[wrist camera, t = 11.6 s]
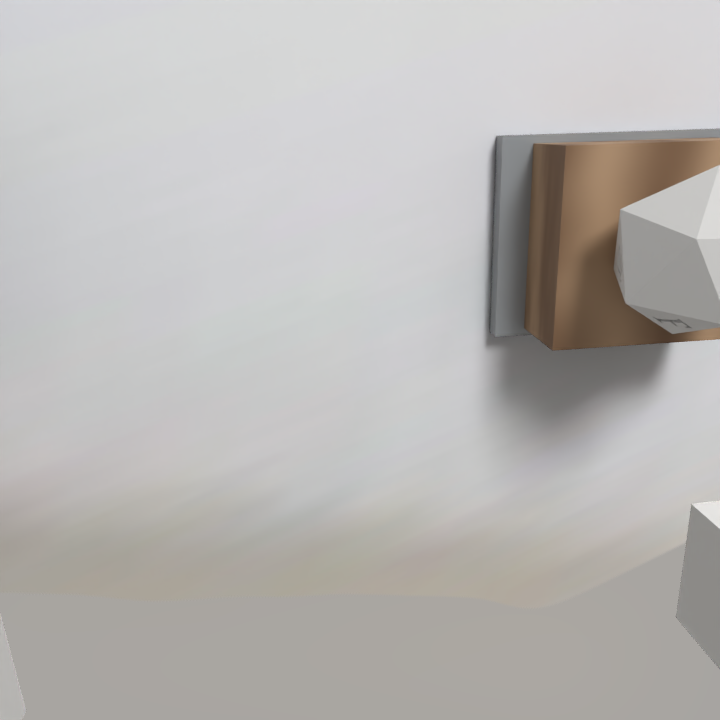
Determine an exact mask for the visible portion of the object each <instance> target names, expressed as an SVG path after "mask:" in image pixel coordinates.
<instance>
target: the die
mask: <svg viewBox="0 0 720 720" xmlns="http://www.w3.org/2000/svg"><path fill="white" fill-rule="evenodd" d="M614 272H615V275H616V278H617V280H618V283H619V286H620V289H621V292H622V295H623V298H624V301H625V303H626V304H627V305H629V306H630V307H632V308H633V309H635V310H636V311H638V312H639V313H641V314H642V315H644V316H645V317H647V318H649V319H650V320H652V321H653V322H655V323H656V324H658V325H659V326H661V327H662V328H664V329H665V330H667V331H668V332H670V333H671V334H676V333H684V332H691V331H698V330H705V329H712V328H719V327H720V165H718V166H716V167H714V168H711V169H709V170H707V171H705V172H702V173H700V174H698V175H696V176H693V177H691V178H689V179H687V180H685V181H682V182H680V183H678V184H676V185H673V186H671V187H669V188H667V189H664V190H662V191H660V192H658V193H655V194H653V195H651V196H649V197H646V198H644V199H642V200H640V201H637V202H635V203H633V204H631V205H628V206H626V207H624V208H622V209H620V215H619V224H618V233H617V242H616V251H615V260H614Z"/></svg>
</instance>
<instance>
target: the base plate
mask: <svg viewBox="0 0 720 720" xmlns="http://www.w3.org/2000/svg"><path fill="white" fill-rule="evenodd" d="M711 137H716V138H720V129H693V130H662V131H631V132H599V133H568V134H537V135H506V136H497V143H496V172H495V200H494V229H493V258H492V287H491V316H490V333H492V334H493V335H494V336H495V337H502V336H518V335H532V334H531V333H530V332H528V331H527V330H526V329H525V328H524V319H525V300H526V280H527V261H528V241H529V222H530V202H531V183H532V163H533V144H534V143H562V142H592V141H622V140H652V139H681V138H711Z"/></svg>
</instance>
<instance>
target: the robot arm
mask: <svg viewBox="0 0 720 720" xmlns="http://www.w3.org/2000/svg"><path fill="white" fill-rule="evenodd" d="M676 618H677V619H678V620H679V622H680V623H681V624H682V625H683V626H684V628H685V629H686V630H687V631H688V632H689V634H690V635H691V636H692V637H693V638H694V639H695V641H696V642H697V643H698V644H699V645H700V646H701V648H702V649H703V650H704V651H705V652H706V654H707V655H708V656H709V657H710V658H711V660H712V661H713V662H714V663H715V664H716V665H717V666H718V668H719V669H720V501H712V502H704V503H696V504H691V511H690V518H689V526H688V533H687V540H686V548H685V556H684V563H683V570H682V577H681V585H680V592H679V599H678V606H677V614H676ZM25 712H26V708H25V705H24V701H23V697H22V693H21V689H20V685H19V681H18V678H17V674H16V670H15V666H14V663H13V659H12V655H11V651H10V648H9V644H8V640H7V636H6V632H5V629H4V624H3V621H2V618H1V613H0V720H22V719H23V717H24V714H25Z"/></svg>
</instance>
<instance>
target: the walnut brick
mask: <svg viewBox="0 0 720 720" xmlns="http://www.w3.org/2000/svg"><path fill="white" fill-rule="evenodd" d="M718 165H720V138H716V137H711V138H681V139H652V140H622V141H592V142H562V143H534V144H533V163H532V183H531V202H530V222H529V241H528V261H527V280H526V300H525V319H524V328H525V329H526V330H527V331H528V332H530V333H531V334H532V335H533V336H535V337H536V338H537V339H539V340H540V341H541V342H542V343H544V344H545V345H546V346H547V347H549V348H550V349H551V350H567V349H582V348H597V347H611V346H626V345H641V344H656V343H670V342H685V341H700V340H715V339H720V327H719V328H712V329H705V330H698V331H691V332H684V333H676V334H671V333H670V332H668V331H667V330H665V329H664V328H662V327H661V326H659V325H658V324H656V323H655V322H653V321H652V320H650V319H649V318H647V317H645V316H644V315H642V314H641V313H639V312H638V311H636V310H635V309H633V308H632V307H630V306H629V305H627V304H626V303H625V301H624V298H623V295H622V292H621V289H620V286H619V283H618V280H617V278H616V275H615V272H614V260H615V251H616V242H617V233H618V224H619V215H620V209H622V208H624V207H626V206H628V205H631V204H633V203H635V202H637V201H640V200H642V199H644V198H646V197H649V196H651V195H653V194H655V193H658V192H660V191H662V190H664V189H667V188H669V187H671V186H673V185H676V184H678V183H680V182H682V181H685V180H687V179H689V178H691V177H693V176H696V175H698V174H700V173H702V172H705V171H707V170H709V169H711V168H714V167H716V166H718Z"/></svg>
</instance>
